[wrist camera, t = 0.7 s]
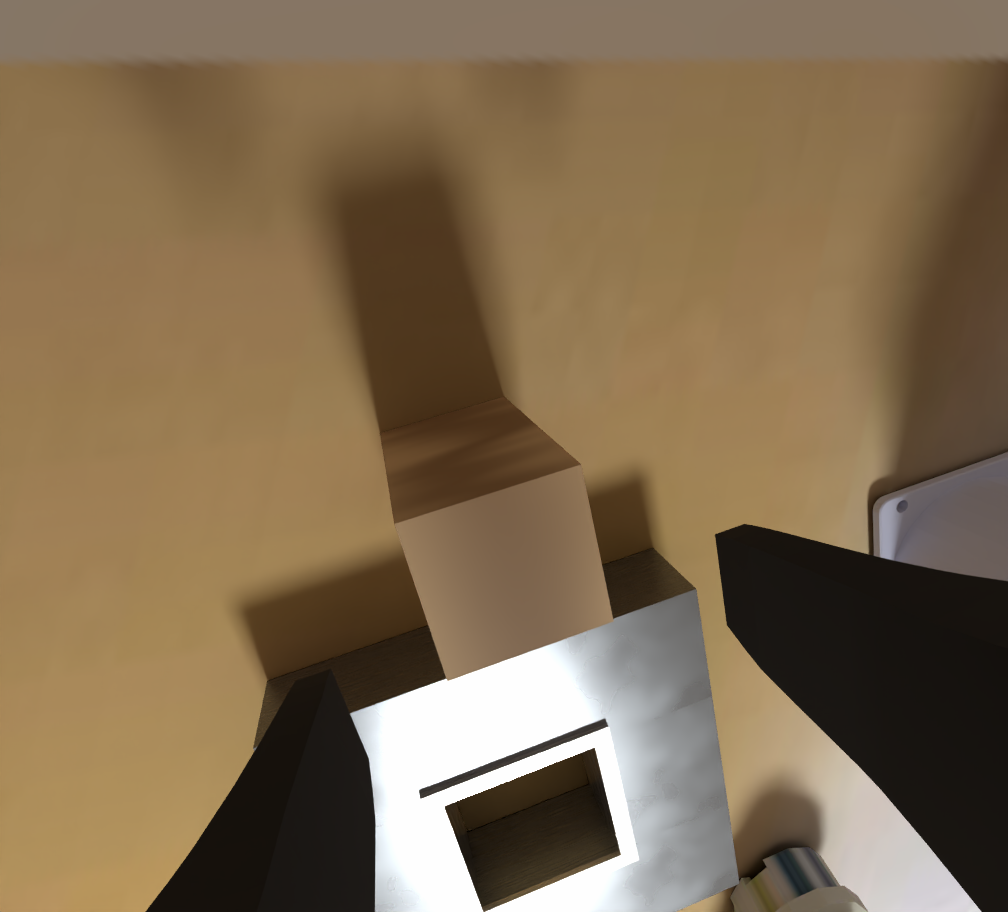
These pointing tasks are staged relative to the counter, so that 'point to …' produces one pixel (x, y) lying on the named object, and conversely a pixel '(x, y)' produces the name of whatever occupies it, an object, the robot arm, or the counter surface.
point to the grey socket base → (547, 762)
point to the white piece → (794, 886)
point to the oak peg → (494, 534)
